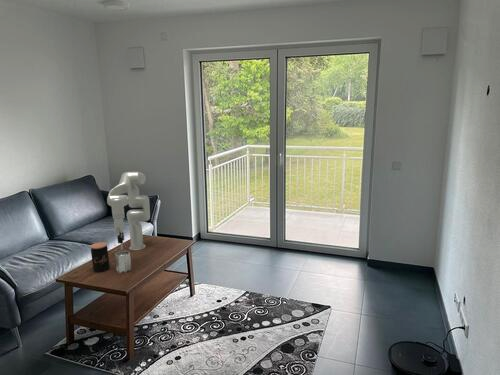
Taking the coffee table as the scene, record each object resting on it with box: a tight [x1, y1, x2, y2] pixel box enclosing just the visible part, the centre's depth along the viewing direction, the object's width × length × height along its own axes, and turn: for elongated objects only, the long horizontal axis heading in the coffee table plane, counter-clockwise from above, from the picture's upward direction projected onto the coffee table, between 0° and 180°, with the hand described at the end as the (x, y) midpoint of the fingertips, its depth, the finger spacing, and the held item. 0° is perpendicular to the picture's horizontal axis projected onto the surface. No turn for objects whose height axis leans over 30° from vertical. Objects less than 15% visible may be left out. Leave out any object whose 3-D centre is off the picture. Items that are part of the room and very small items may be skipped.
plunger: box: [118, 234, 128, 256], centre depth 256 cm, size 7×7×14 cm
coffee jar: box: [90, 241, 110, 273], centre depth 260 cm, size 11×11×18 cm
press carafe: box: [114, 250, 132, 274], centre depth 260 cm, size 12×9×12 cm
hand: (121, 241), depth 256 cm, fingers open, 4 cm apart
